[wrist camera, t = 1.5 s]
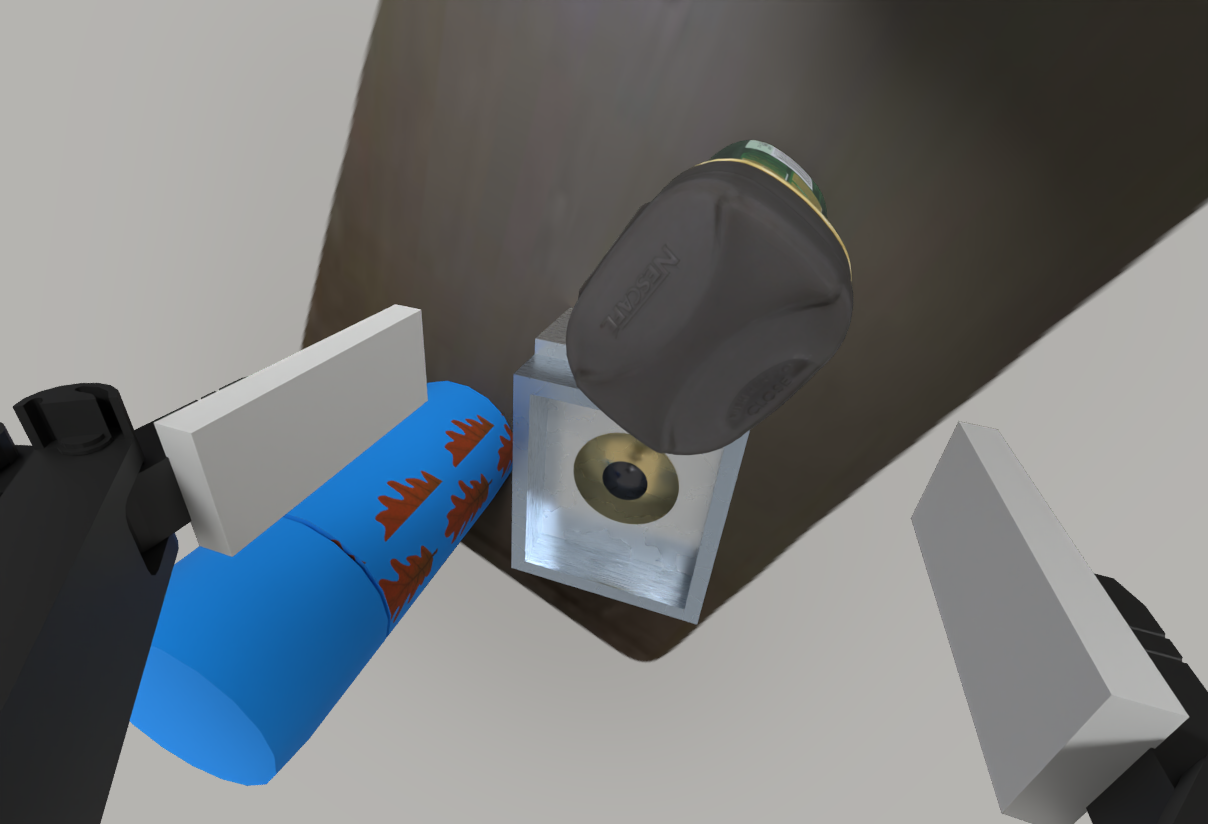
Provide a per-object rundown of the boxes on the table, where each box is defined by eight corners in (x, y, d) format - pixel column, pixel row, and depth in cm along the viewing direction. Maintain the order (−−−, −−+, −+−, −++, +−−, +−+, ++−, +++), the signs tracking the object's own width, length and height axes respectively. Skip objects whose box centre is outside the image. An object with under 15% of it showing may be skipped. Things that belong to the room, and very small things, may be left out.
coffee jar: (731, 334, 35) (683, 514, 19) (636, 253, 34) (507, 372, 19) (854, 209, 30) (924, 319, 14) (745, 111, 29) (692, 113, 14)
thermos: (405, 471, 50) (123, 735, 29) (396, 365, 44) (39, 596, 23) (516, 504, 48) (299, 816, 27) (521, 397, 42) (252, 684, 21)
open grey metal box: (763, 345, 35) (754, 411, 27) (711, 543, 43) (694, 634, 36) (569, 307, 37) (513, 357, 30) (557, 500, 46) (511, 577, 38)
